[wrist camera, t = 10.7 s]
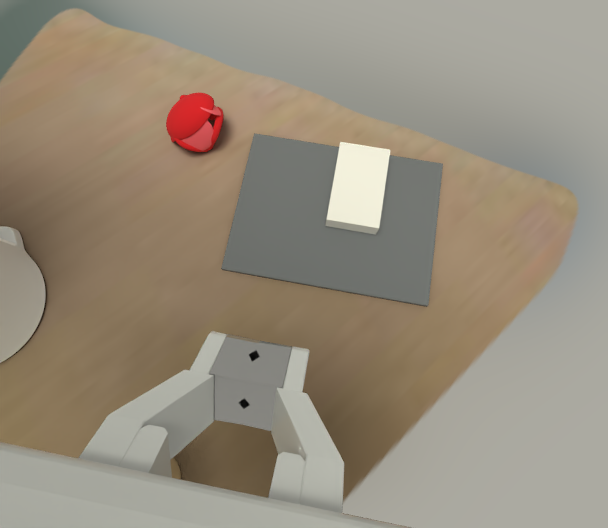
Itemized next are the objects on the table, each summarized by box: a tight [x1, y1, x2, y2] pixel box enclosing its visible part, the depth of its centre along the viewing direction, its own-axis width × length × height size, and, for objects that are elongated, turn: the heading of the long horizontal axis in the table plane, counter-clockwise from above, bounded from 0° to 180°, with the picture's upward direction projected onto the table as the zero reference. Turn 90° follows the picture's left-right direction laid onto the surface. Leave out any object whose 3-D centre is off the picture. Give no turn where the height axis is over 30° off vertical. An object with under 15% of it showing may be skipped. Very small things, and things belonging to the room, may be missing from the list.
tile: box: [326, 142, 390, 235], centre depth 45 cm, size 6×2×10 cm
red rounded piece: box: [166, 93, 223, 152], centre depth 46 cm, size 8×6×6 cm
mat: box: [221, 134, 443, 306], centre depth 46 cm, size 24×18×1 cm
